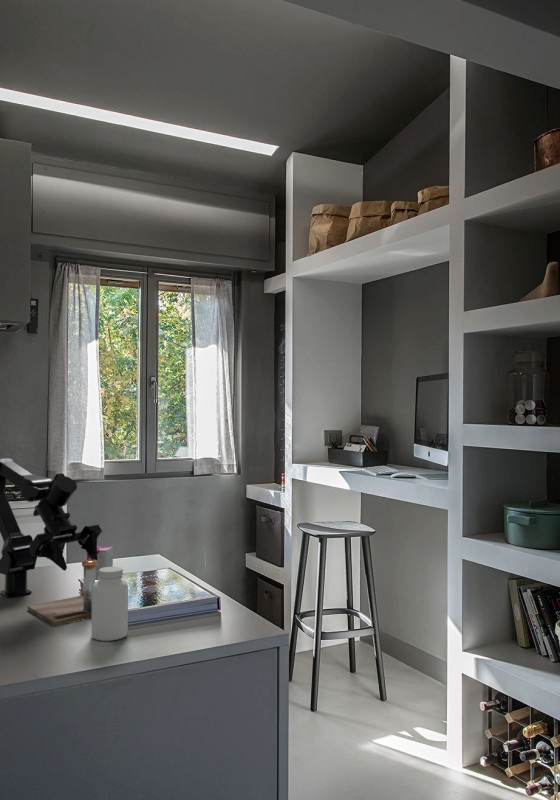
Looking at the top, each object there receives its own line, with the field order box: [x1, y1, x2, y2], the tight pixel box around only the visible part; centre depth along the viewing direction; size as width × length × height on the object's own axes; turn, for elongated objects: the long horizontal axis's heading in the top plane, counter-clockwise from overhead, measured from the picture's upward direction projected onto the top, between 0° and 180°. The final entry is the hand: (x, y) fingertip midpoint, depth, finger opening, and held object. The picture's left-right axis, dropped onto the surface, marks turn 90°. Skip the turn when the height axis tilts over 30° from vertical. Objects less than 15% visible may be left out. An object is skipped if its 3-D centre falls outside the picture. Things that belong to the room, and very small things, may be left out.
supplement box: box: [86, 546, 114, 580], centre depth 188 cm, size 6×6×12 cm
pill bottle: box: [90, 566, 129, 642], centre depth 149 cm, size 8×8×15 cm
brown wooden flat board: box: [27, 595, 92, 627], centre depth 166 cm, size 16×16×1 cm
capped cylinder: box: [81, 559, 97, 614], centre depth 163 cm, size 4×4×13 cm
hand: (81, 565), depth 165 cm, fingers open, 9 cm apart
